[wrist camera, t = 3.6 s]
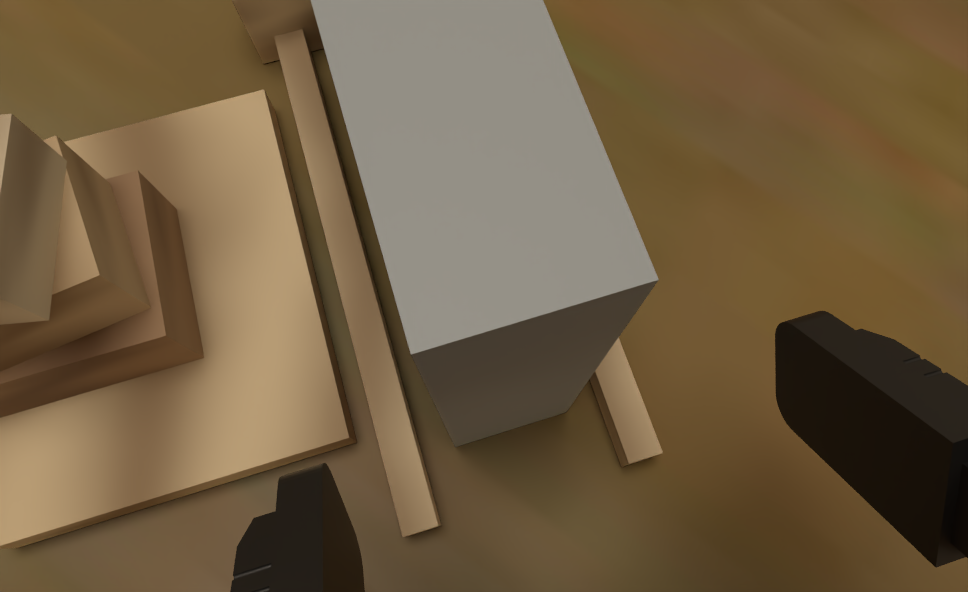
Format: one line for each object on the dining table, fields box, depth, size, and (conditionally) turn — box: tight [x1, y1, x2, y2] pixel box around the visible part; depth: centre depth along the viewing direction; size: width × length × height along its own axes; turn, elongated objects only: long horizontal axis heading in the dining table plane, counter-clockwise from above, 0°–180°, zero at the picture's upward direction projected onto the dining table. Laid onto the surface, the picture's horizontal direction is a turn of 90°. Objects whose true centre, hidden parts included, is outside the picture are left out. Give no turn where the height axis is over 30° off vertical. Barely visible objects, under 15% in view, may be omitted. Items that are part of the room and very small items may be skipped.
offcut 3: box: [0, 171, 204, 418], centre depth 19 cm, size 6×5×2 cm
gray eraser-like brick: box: [311, 0, 659, 447], centre depth 17 cm, size 4×14×12 cm, turn 17°
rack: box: [0, 0, 663, 549], centre depth 20 cm, size 19×19×4 cm
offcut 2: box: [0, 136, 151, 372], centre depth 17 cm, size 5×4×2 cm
